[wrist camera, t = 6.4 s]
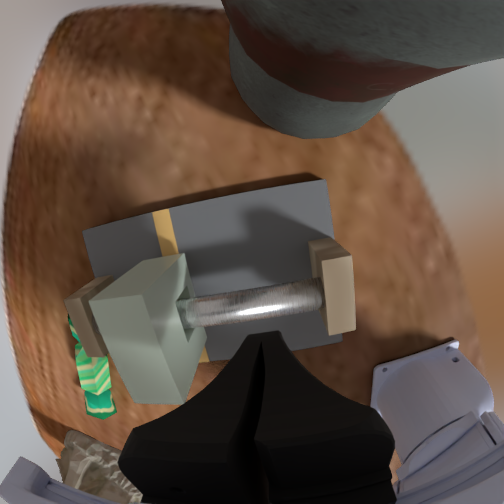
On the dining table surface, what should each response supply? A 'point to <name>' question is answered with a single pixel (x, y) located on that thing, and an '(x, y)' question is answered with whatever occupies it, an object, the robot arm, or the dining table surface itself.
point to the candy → (94, 381)
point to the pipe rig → (235, 268)
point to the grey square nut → (151, 330)
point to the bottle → (350, 55)
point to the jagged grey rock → (95, 469)
